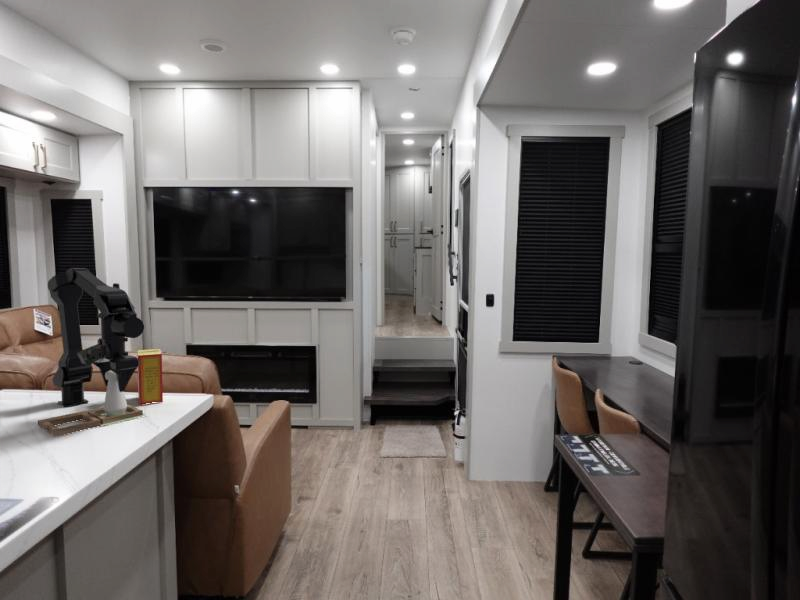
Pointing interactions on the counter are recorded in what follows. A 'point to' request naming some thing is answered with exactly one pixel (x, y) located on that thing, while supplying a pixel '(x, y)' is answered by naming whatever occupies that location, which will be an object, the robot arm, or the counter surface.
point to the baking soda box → (150, 376)
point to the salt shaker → (114, 396)
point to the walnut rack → (91, 416)
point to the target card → (120, 420)
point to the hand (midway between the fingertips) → (114, 388)
